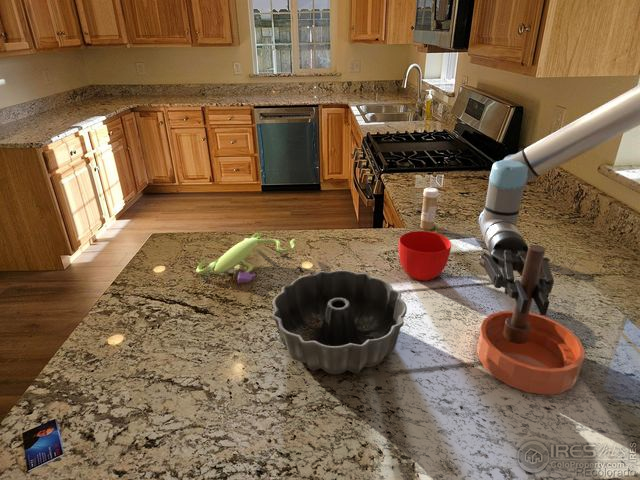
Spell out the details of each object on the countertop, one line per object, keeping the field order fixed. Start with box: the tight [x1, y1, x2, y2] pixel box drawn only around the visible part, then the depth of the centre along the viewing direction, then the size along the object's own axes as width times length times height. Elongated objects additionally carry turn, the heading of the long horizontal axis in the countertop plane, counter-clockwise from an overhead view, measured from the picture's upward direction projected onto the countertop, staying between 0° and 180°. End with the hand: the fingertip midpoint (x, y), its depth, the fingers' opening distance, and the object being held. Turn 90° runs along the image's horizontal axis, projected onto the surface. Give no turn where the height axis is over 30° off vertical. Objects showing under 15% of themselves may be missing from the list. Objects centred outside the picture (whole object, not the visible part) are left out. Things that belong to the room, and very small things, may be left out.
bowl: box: [476, 310, 586, 395], centre depth 81 cm, size 18×18×6 cm
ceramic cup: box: [398, 230, 452, 282], centre depth 112 cm, size 13×17×10 cm
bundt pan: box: [271, 269, 408, 375], centre depth 86 cm, size 26×26×10 cm
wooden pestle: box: [503, 244, 546, 344], centre depth 77 cm, size 4×4×19 cm
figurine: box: [195, 232, 297, 284], centre depth 117 cm, size 18×27×6 cm
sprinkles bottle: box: [419, 187, 439, 231], centre depth 136 cm, size 5×5×13 cm
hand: (534, 307), depth 72 cm, fingers closed on wooden pestle, 3 cm apart
